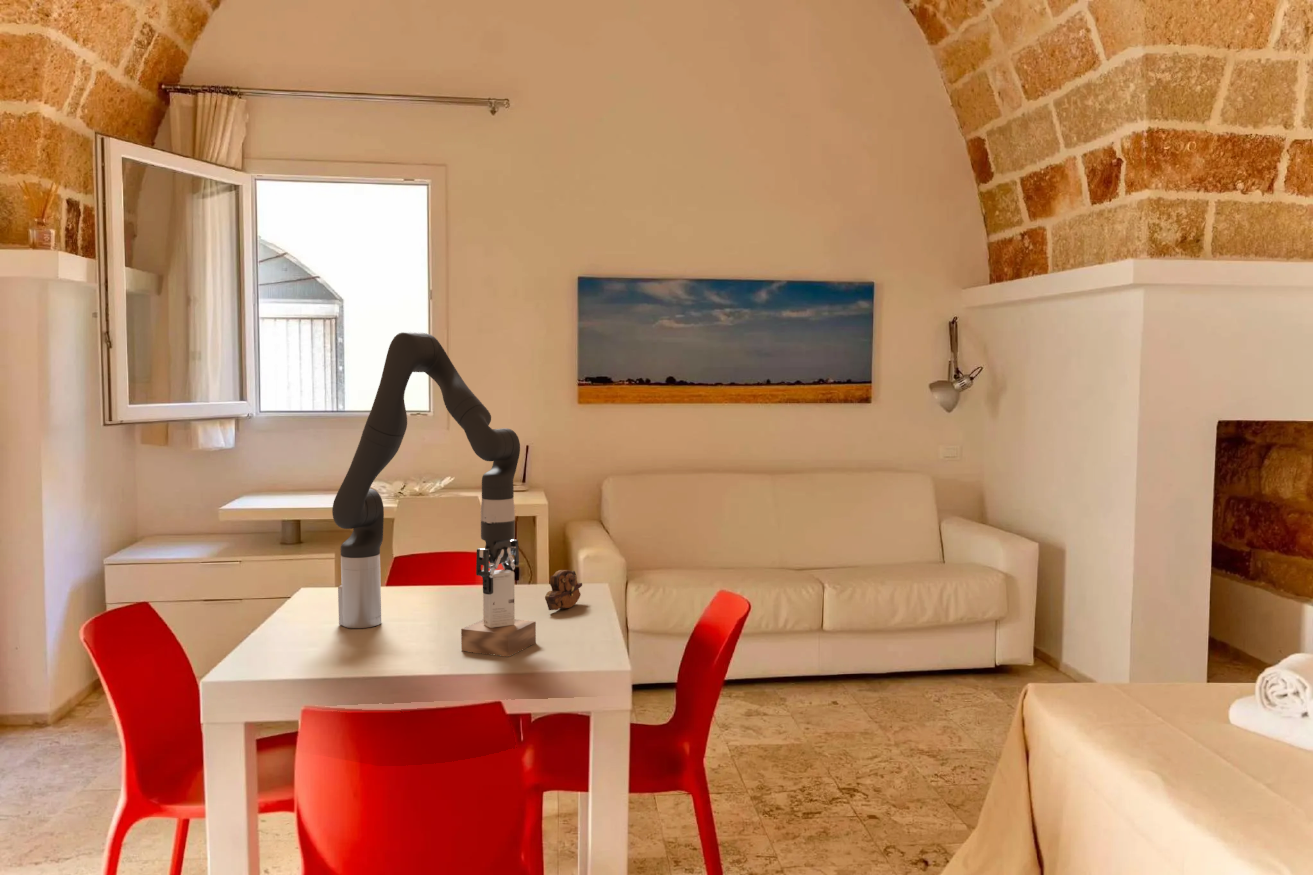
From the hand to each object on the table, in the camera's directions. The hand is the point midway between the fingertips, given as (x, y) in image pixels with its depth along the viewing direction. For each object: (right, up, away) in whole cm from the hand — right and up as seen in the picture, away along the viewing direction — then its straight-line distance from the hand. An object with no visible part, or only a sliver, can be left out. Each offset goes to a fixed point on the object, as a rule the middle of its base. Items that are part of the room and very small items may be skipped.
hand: (498, 589), depth 225 cm
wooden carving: (+12, -11, +38) cm, 41 cm away
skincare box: (0, -8, +1) cm, 8 cm away
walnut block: (0, -13, +1) cm, 13 cm away
